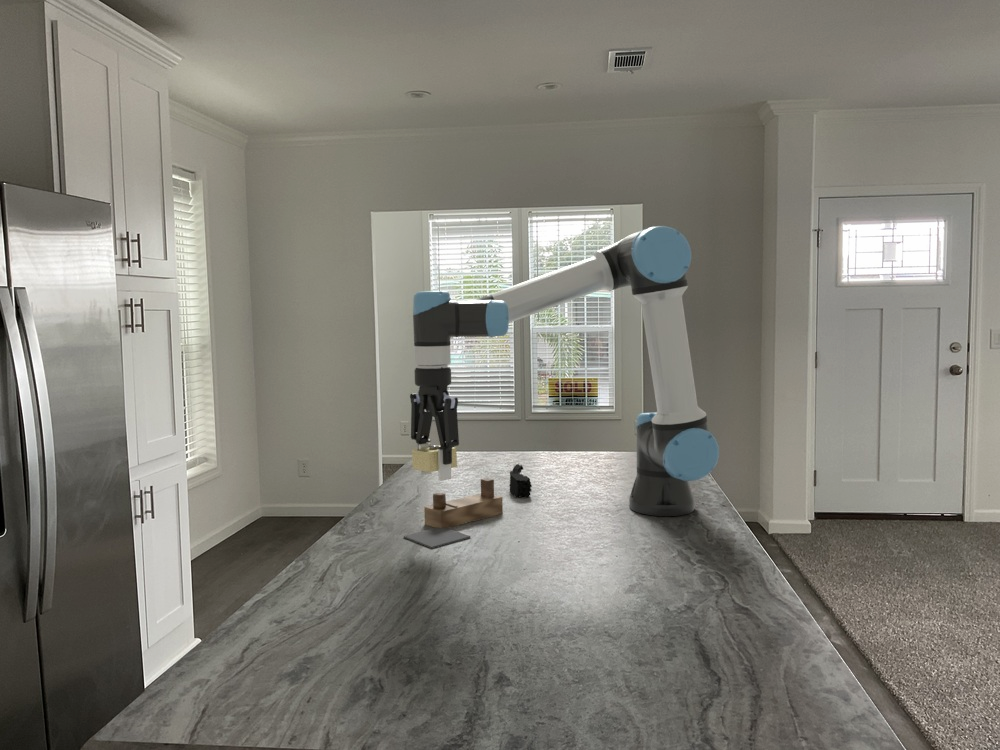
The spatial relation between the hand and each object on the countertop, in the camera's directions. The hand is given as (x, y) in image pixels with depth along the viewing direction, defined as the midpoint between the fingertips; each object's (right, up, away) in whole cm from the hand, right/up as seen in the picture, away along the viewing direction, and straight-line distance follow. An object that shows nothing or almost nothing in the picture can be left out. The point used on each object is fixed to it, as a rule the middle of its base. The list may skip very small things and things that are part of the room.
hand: (435, 476), depth 154 cm
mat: (0, -13, +1) cm, 13 cm away
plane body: (+5, -12, +15) cm, 20 cm away
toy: (+19, -10, +39) cm, 45 cm away
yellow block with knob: (0, +2, 0) cm, 2 cm away
